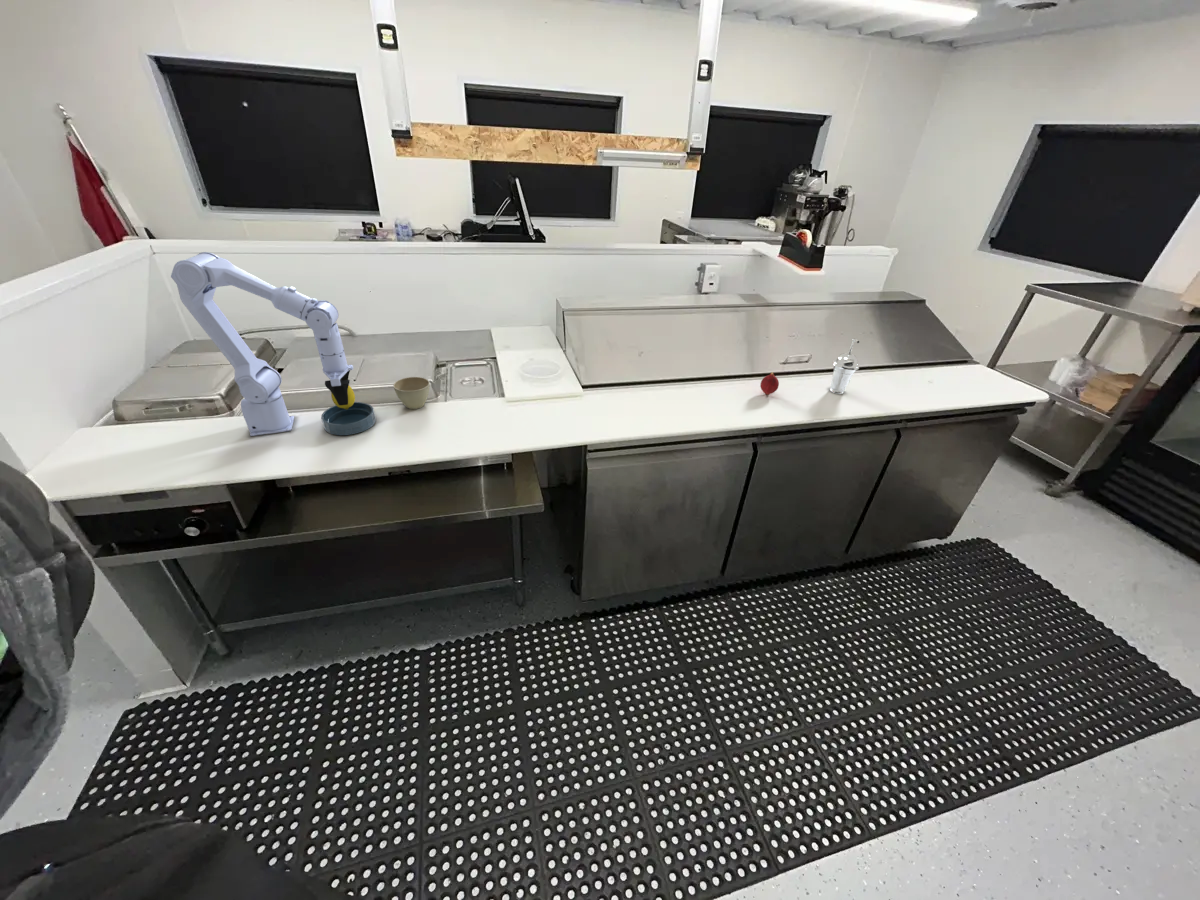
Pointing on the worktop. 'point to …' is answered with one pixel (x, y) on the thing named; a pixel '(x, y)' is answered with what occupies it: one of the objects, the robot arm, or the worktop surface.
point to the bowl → (348, 419)
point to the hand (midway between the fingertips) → (344, 399)
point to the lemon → (350, 399)
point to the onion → (769, 384)
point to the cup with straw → (843, 370)
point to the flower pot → (412, 391)
